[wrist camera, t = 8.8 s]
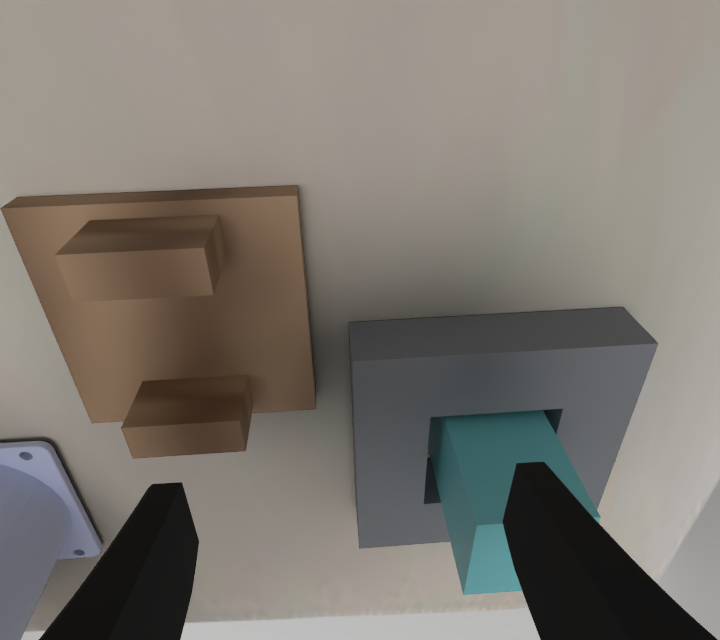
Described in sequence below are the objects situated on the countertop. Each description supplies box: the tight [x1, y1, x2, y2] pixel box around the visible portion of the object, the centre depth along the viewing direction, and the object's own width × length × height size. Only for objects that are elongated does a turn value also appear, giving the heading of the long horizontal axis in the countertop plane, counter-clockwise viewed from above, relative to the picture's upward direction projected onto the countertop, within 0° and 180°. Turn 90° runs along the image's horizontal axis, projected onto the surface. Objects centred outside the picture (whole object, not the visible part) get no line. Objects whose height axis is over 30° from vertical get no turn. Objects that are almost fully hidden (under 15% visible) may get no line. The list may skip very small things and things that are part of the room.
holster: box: [0, 185, 316, 458], centre depth 17 cm, size 9×9×4 cm
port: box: [349, 307, 658, 548], centre depth 22 cm, size 11×11×3 cm
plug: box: [428, 410, 600, 595], centre depth 20 cm, size 4×4×7 cm
